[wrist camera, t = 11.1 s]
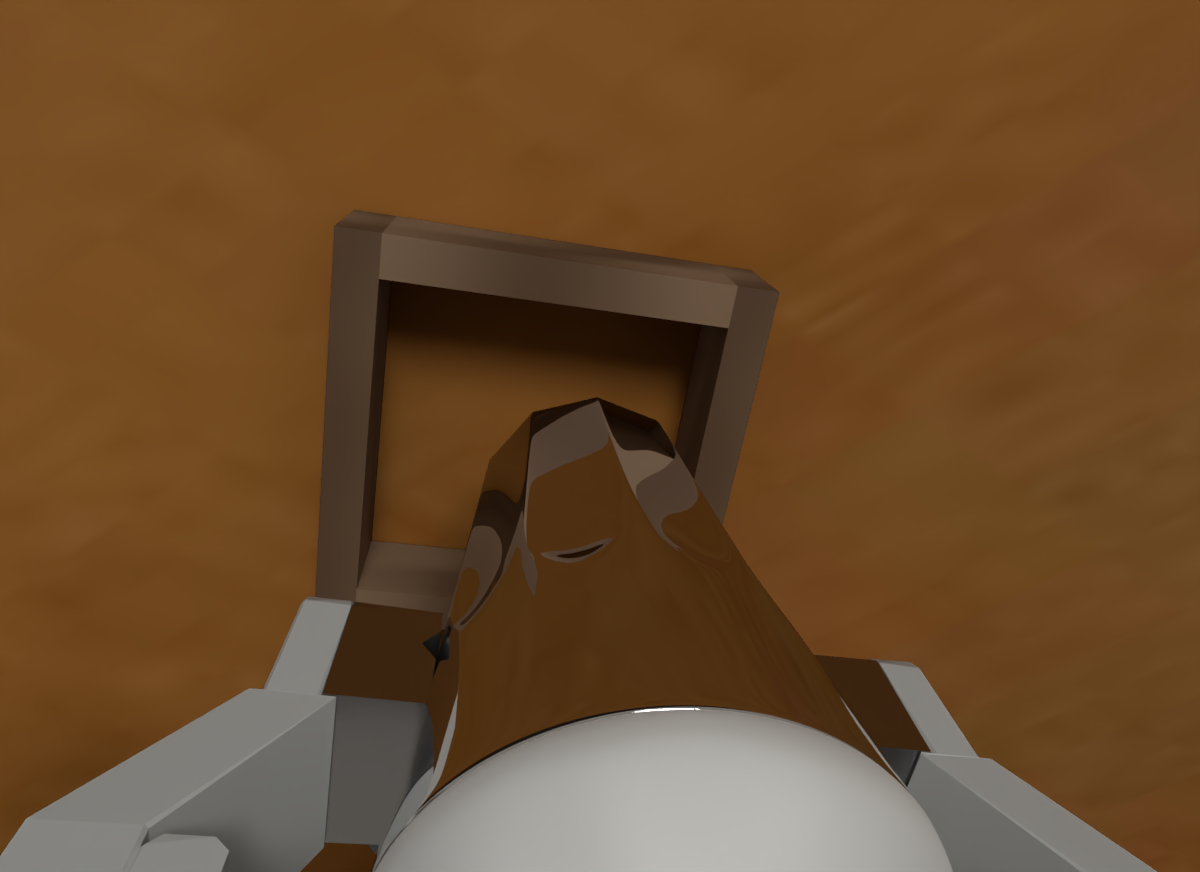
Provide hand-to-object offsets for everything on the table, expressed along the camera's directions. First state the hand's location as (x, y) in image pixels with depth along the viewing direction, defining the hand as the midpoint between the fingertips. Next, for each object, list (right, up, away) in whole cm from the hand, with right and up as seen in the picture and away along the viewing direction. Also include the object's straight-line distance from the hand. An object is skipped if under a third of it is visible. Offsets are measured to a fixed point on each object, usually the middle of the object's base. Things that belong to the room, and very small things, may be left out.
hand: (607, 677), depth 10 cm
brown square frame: (-2, +3, +9) cm, 9 cm away
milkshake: (0, +2, +4) cm, 5 cm away
